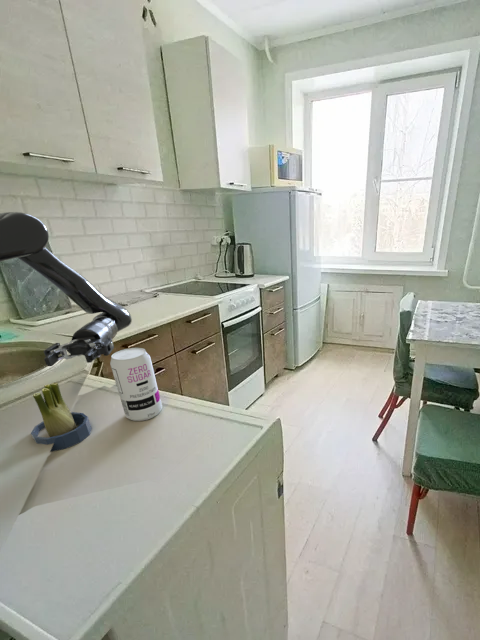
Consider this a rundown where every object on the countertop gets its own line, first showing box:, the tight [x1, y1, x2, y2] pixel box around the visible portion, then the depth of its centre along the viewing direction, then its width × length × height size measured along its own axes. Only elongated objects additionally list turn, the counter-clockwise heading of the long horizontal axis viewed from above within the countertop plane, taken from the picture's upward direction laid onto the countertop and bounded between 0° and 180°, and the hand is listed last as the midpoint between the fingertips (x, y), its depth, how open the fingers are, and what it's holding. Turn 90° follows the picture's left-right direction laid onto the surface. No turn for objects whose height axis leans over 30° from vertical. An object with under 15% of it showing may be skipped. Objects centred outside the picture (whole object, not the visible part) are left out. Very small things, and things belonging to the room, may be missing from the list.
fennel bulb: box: [32, 382, 78, 437], centre depth 73 cm, size 6×5×12 cm
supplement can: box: [109, 347, 163, 422], centre depth 79 cm, size 8×8×15 cm
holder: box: [30, 411, 93, 453], centre depth 75 cm, size 10×10×3 cm
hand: (67, 360), depth 80 cm, fingers open, 8 cm apart
